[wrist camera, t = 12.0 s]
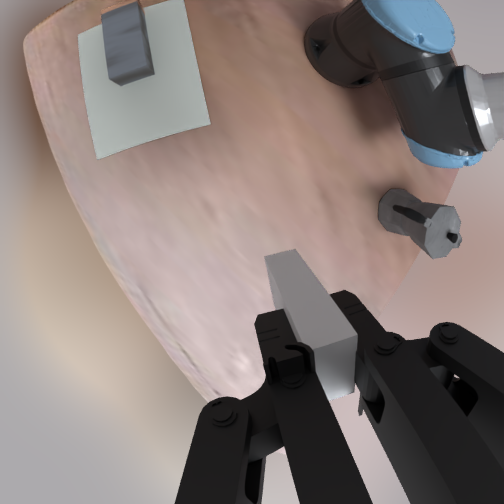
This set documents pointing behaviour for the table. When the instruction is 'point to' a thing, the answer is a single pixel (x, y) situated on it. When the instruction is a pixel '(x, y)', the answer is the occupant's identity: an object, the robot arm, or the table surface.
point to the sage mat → (144, 85)
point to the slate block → (126, 42)
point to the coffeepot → (421, 222)
